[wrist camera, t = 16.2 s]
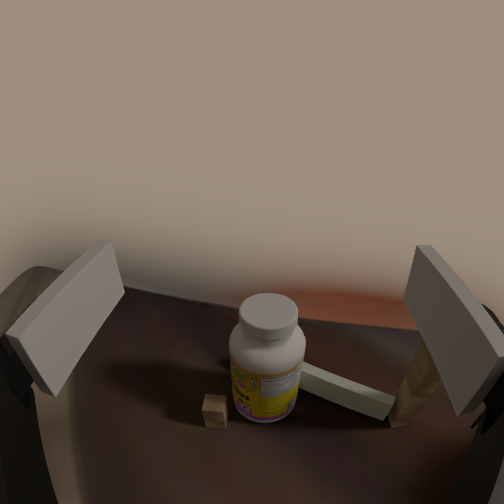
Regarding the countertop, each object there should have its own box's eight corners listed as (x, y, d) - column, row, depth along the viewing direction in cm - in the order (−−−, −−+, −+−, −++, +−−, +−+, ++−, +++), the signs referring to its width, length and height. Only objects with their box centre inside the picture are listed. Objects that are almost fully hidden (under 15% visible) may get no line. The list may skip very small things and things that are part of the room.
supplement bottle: (228, 383, 31) (220, 290, 25) (284, 373, 33) (293, 281, 27) (240, 431, 25) (235, 343, 20) (303, 417, 27) (324, 327, 21)
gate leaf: (389, 406, 26) (398, 390, 25) (383, 420, 25) (392, 405, 23) (265, 355, 35) (265, 338, 33) (254, 366, 33) (255, 349, 32)
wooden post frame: (405, 408, 26) (448, 328, 21) (410, 424, 24) (459, 346, 19) (209, 410, 28) (194, 327, 22) (205, 428, 25) (187, 349, 20)
